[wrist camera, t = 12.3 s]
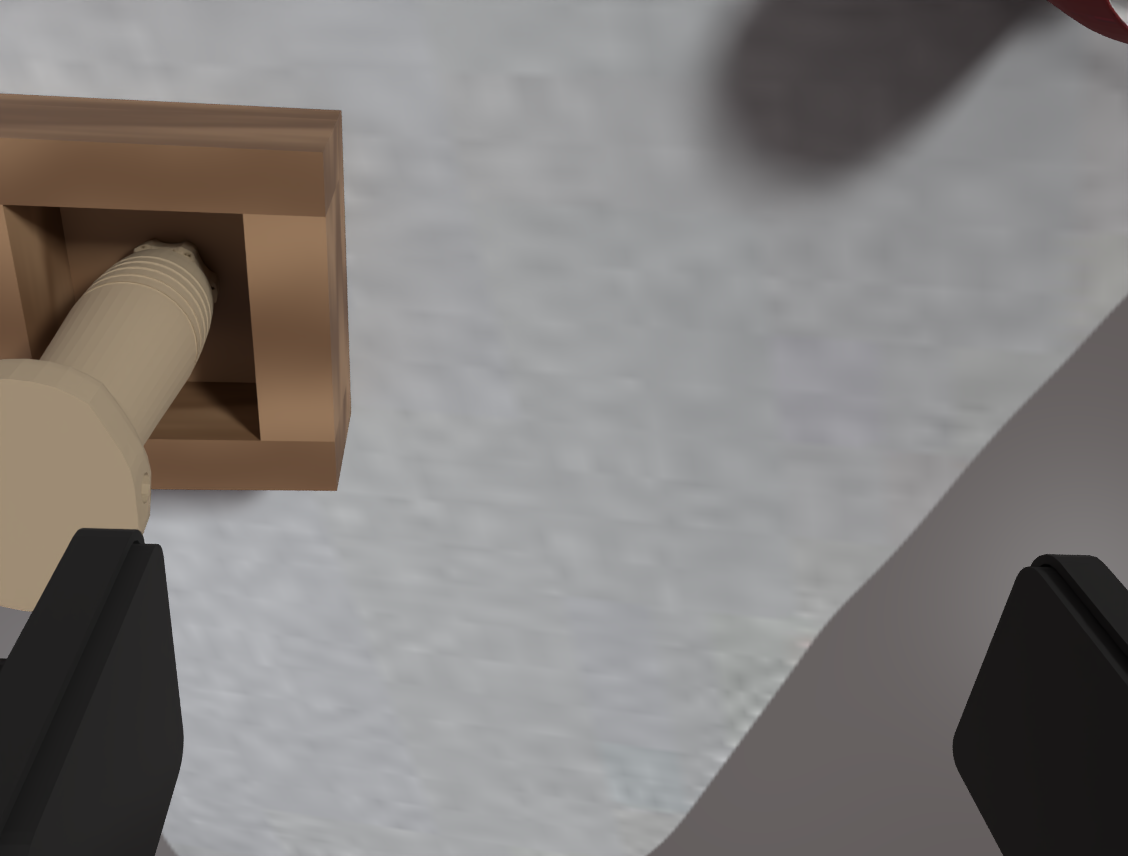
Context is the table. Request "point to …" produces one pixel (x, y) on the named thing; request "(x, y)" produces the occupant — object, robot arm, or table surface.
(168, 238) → the block
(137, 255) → the handle
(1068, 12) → the mug
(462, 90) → the table surface
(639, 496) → the table surface
